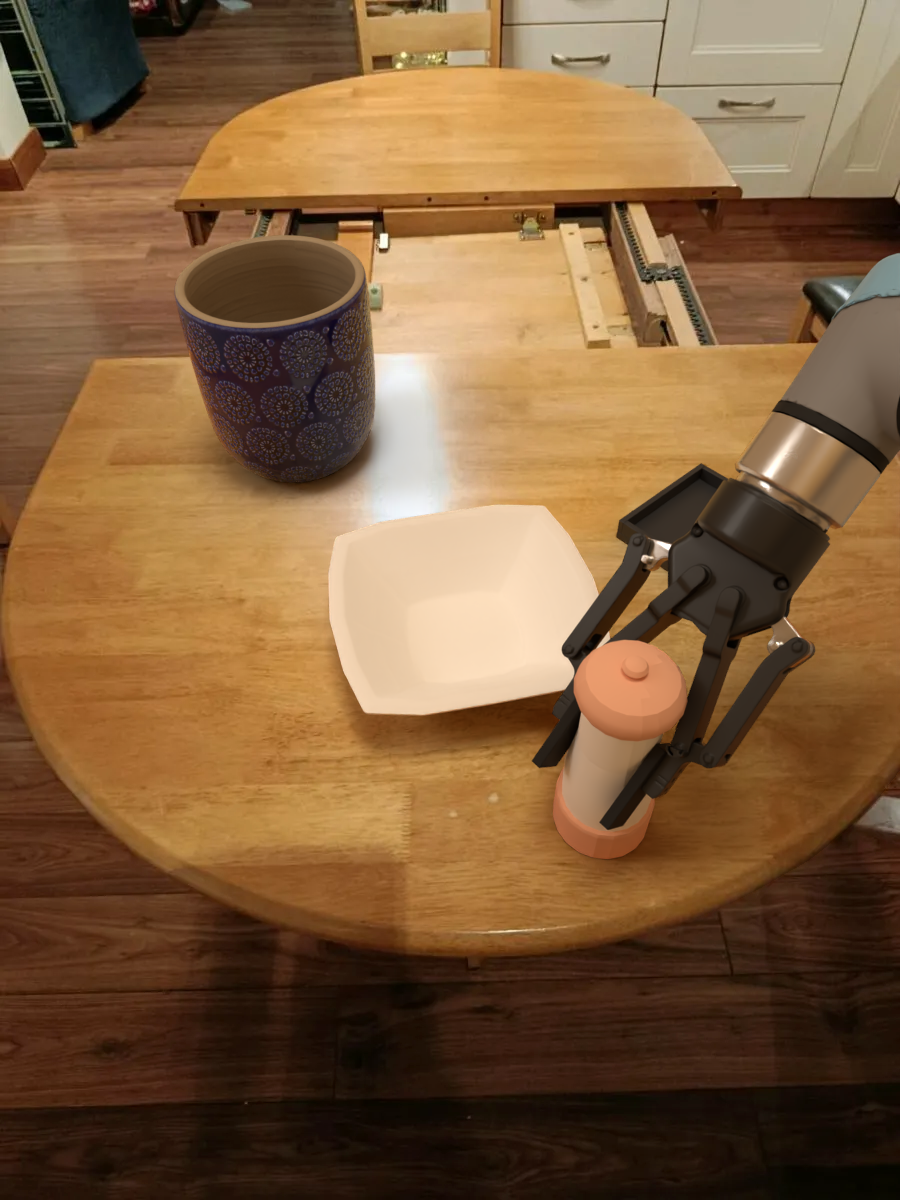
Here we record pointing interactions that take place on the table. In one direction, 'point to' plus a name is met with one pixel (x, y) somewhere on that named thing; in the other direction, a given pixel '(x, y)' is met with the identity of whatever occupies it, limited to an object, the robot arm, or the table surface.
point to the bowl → (457, 608)
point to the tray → (672, 508)
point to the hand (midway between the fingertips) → (577, 792)
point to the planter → (282, 352)
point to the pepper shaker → (615, 742)
